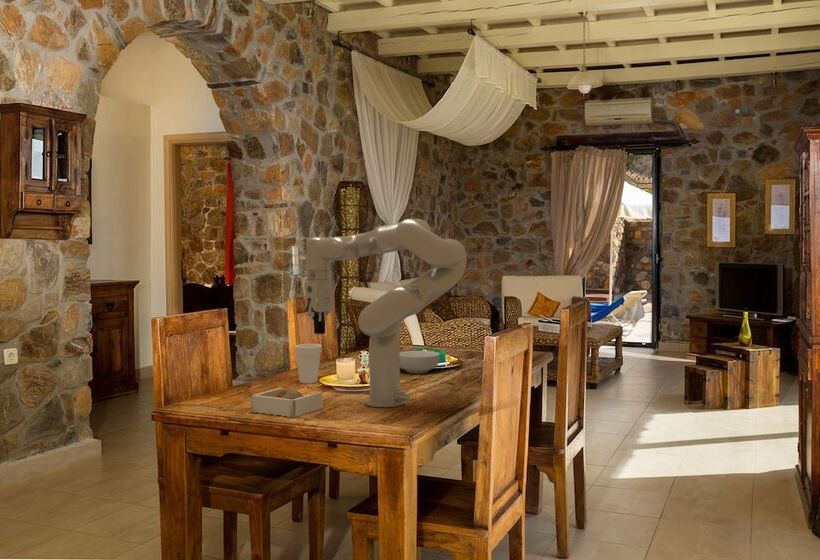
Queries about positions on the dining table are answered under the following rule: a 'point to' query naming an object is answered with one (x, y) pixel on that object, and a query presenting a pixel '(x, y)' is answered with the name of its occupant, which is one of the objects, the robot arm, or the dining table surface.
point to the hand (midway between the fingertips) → (319, 333)
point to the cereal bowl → (419, 361)
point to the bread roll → (289, 394)
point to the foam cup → (308, 362)
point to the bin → (285, 403)
